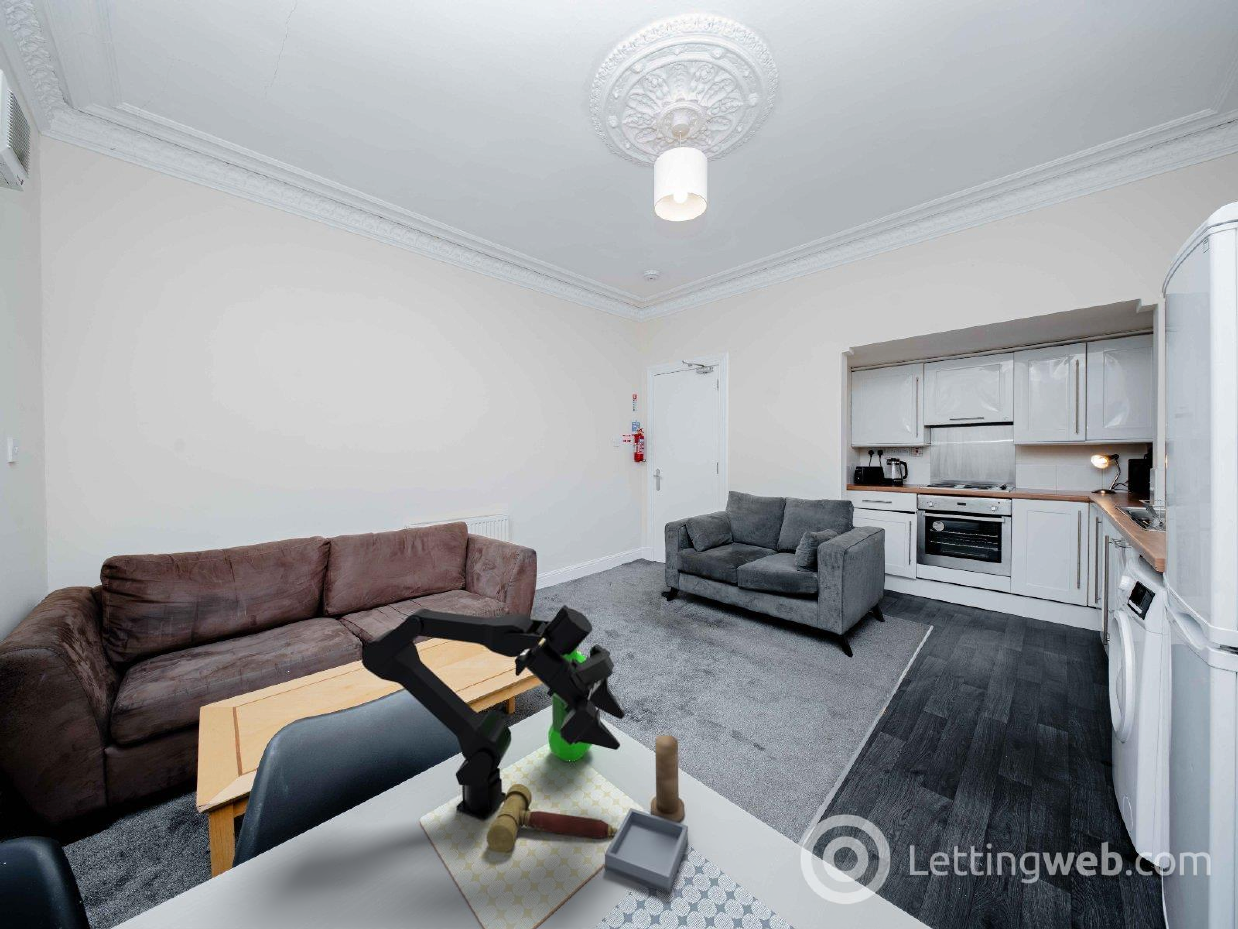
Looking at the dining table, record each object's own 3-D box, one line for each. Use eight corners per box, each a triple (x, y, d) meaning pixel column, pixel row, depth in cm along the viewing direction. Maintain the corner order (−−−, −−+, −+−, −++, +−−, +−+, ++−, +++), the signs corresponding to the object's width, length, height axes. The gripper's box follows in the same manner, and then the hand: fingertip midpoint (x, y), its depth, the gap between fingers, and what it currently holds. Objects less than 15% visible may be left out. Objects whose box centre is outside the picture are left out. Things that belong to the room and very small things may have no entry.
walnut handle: (645, 818, 82) (644, 747, 82) (657, 795, 87) (656, 729, 87) (678, 828, 79) (677, 755, 79) (688, 804, 85) (687, 736, 85)
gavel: (622, 796, 83) (615, 842, 73) (620, 822, 83) (613, 871, 73) (508, 781, 85) (486, 824, 75) (507, 806, 85) (485, 852, 75)
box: (605, 870, 72) (604, 854, 71) (630, 822, 81) (630, 808, 81) (668, 894, 67) (668, 877, 67) (687, 841, 77) (687, 826, 77)
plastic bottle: (571, 733, 107) (569, 625, 107) (605, 752, 100) (603, 636, 100) (537, 755, 100) (534, 638, 99) (571, 776, 93) (568, 651, 92)
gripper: (575, 661, 74) (649, 729, 73) (592, 620, 93) (651, 674, 92) (530, 712, 75) (603, 779, 74) (556, 661, 94) (615, 715, 93)
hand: (620, 731), depth 83 cm, fingers open, 9 cm apart
